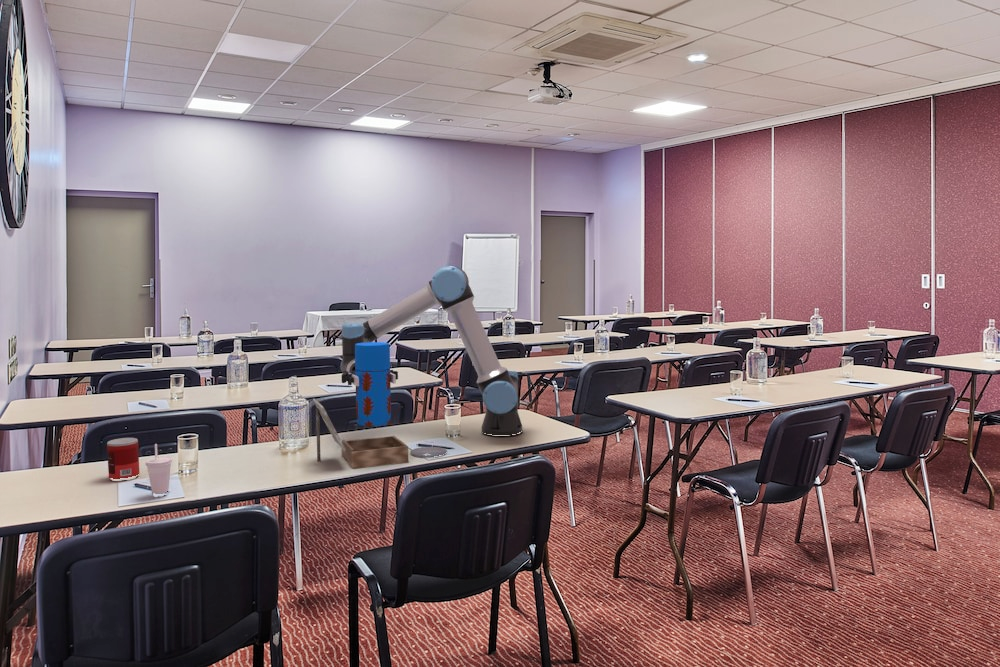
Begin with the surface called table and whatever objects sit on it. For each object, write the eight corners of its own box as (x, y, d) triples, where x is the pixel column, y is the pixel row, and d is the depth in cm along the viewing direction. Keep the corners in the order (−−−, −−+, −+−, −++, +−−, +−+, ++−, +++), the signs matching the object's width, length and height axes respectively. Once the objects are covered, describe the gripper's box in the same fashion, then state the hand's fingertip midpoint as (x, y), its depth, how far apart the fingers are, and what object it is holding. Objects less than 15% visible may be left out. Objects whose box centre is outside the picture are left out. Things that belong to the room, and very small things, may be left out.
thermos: (383, 427, 217) (382, 346, 215) (351, 425, 219) (349, 345, 217) (396, 419, 227) (394, 342, 225) (364, 418, 230) (362, 341, 227)
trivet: (439, 447, 239) (439, 445, 239) (452, 455, 229) (452, 453, 228) (405, 450, 235) (405, 449, 235) (416, 459, 224) (416, 457, 224)
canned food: (145, 474, 208) (143, 438, 207) (126, 482, 200) (124, 444, 199) (122, 473, 209) (121, 436, 208) (102, 481, 201) (100, 443, 200)
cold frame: (394, 450, 235) (393, 392, 233) (408, 462, 221) (407, 400, 219) (314, 459, 224) (312, 398, 223) (323, 472, 210) (321, 407, 208)
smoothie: (145, 494, 189) (142, 443, 188) (171, 490, 193) (168, 439, 192) (149, 500, 184) (146, 448, 183) (175, 496, 188) (173, 444, 187)
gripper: (393, 380, 243) (412, 389, 223) (325, 384, 234) (338, 395, 214) (393, 358, 243) (412, 366, 223) (324, 362, 233) (338, 370, 213)
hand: (376, 380), depth 218 cm, fingers closed on thermos, 11 cm apart
